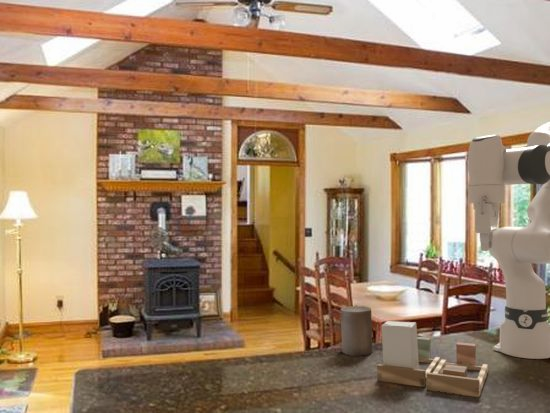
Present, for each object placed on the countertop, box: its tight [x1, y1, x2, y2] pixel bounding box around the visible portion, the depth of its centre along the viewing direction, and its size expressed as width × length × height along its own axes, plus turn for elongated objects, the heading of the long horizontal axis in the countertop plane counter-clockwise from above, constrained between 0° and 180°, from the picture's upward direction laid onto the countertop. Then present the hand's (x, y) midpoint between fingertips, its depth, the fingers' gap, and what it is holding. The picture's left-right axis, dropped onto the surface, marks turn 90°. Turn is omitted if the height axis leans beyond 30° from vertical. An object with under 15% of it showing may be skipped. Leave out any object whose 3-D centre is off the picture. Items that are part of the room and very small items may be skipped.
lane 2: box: [426, 341, 489, 398], centre depth 141 cm, size 27×12×6 cm, turn 153°
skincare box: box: [381, 320, 420, 369], centre depth 141 cm, size 8×6×15 cm
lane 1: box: [376, 336, 442, 388], centre depth 149 cm, size 27×12×6 cm, turn 153°
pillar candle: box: [340, 304, 373, 357], centre depth 168 cm, size 10×10×15 cm
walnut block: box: [442, 364, 468, 377], centre depth 134 cm, size 5×5×5 cm
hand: (486, 249), depth 140 cm, fingers open, 8 cm apart
